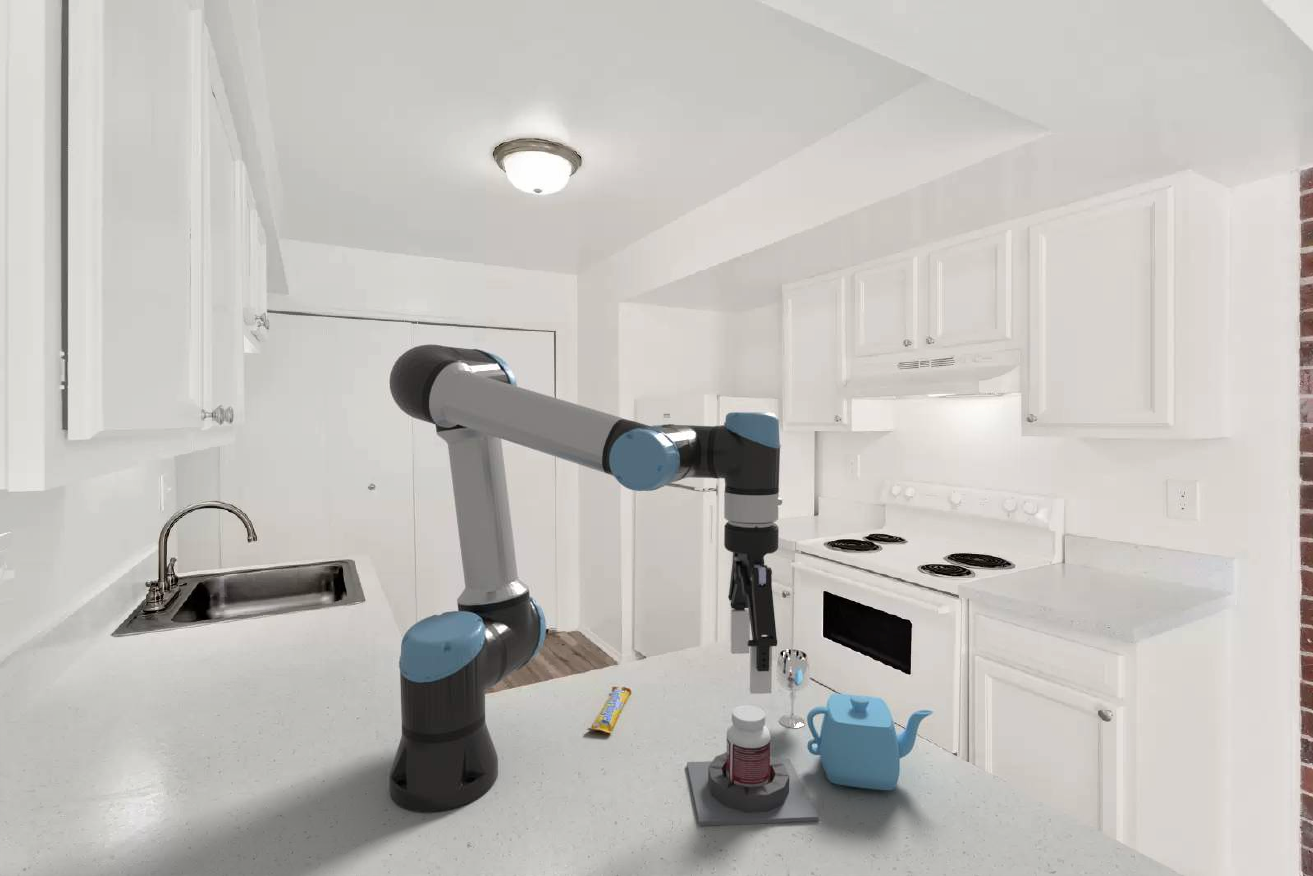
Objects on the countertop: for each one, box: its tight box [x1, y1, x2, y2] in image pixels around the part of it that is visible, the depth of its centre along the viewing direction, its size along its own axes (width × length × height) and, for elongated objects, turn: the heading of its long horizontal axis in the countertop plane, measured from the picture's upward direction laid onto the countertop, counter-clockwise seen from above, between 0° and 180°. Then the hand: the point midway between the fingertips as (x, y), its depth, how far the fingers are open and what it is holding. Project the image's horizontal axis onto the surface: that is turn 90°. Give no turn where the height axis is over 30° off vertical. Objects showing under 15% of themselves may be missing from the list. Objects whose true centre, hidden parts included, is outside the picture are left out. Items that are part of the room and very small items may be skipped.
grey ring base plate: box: [686, 751, 819, 827], centre depth 91 cm, size 16×14×3 cm
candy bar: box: [587, 686, 632, 734], centre depth 115 cm, size 17×4×2 cm, turn 169°
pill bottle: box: [726, 705, 771, 787], centre depth 91 cm, size 6×6×11 cm
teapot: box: [806, 693, 934, 791], centre depth 96 cm, size 12×18×12 cm
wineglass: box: [775, 648, 811, 729], centre depth 111 cm, size 6×6×12 cm
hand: (749, 671), depth 91 cm, fingers open, 13 cm apart
